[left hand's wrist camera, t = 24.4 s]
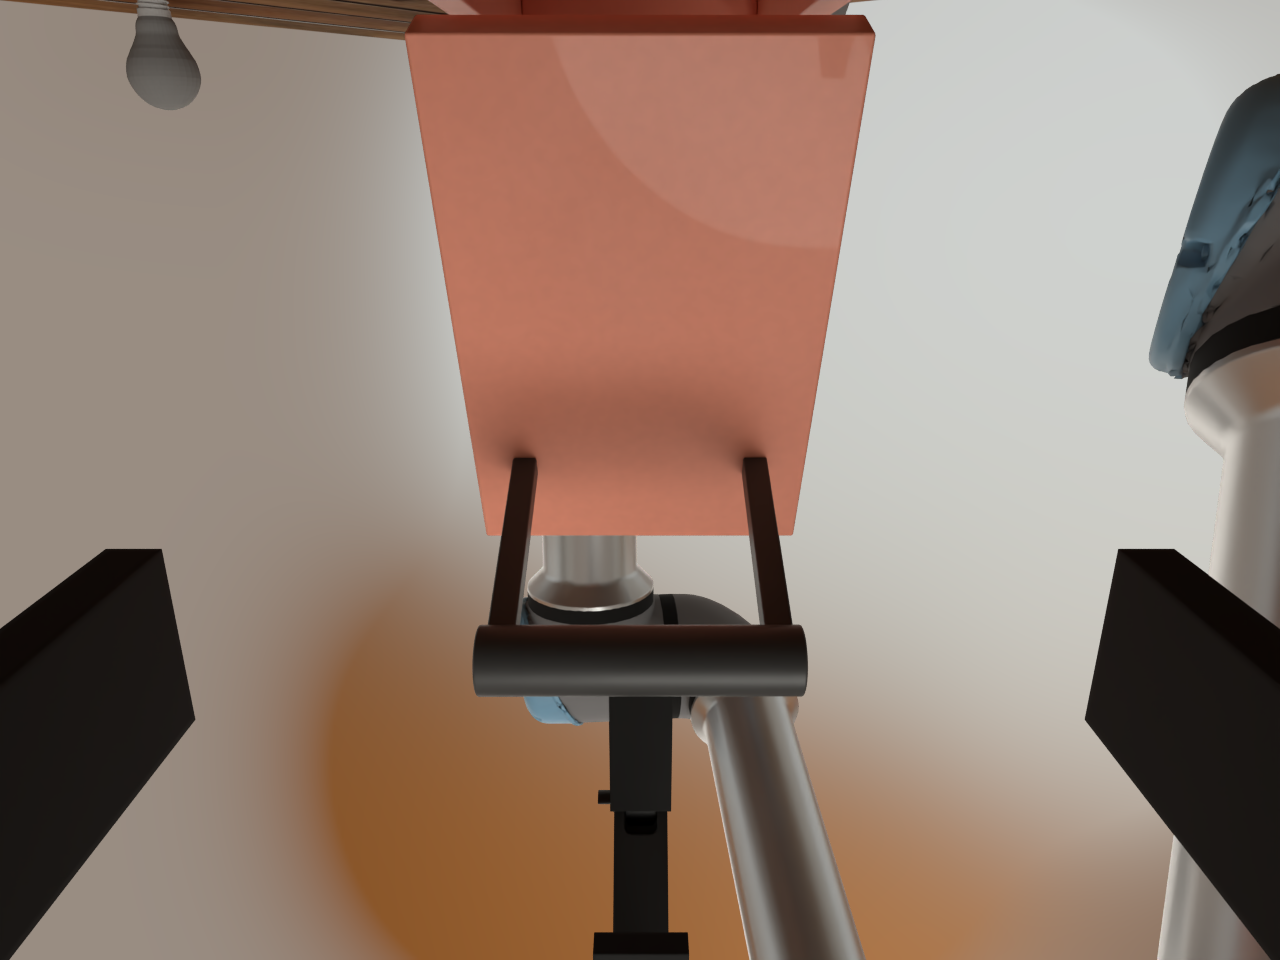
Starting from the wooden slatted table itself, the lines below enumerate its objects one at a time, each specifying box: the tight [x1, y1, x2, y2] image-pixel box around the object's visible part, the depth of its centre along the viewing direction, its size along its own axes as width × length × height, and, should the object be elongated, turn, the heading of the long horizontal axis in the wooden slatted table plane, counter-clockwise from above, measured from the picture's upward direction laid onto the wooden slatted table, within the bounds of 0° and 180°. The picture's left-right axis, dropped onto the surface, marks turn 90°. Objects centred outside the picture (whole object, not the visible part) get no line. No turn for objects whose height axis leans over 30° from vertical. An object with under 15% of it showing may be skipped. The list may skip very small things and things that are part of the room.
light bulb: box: [126, 0, 201, 110], centre depth 82 cm, size 6×6×10 cm
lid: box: [405, 15, 875, 697], centre depth 22 cm, size 15×10×9 cm
